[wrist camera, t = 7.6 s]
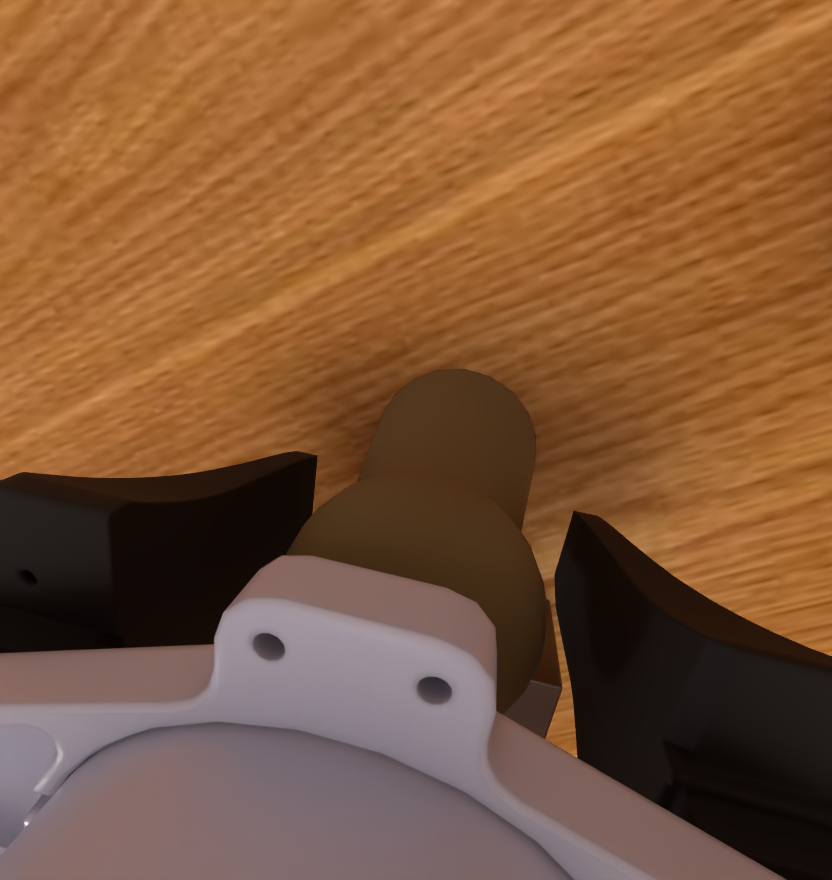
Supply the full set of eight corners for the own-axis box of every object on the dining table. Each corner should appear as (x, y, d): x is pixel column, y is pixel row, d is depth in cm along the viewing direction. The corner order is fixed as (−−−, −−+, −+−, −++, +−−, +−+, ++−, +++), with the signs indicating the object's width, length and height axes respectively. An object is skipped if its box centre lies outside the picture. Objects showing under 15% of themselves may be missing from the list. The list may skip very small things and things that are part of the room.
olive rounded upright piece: (523, 354, 17) (556, 476, 6) (546, 510, 18) (604, 808, 8) (360, 385, 18) (168, 526, 8) (396, 528, 20) (279, 801, 9)
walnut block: (522, 691, 21) (526, 794, 17) (307, 636, 22) (262, 719, 18) (550, 599, 19) (563, 688, 15) (316, 544, 21) (268, 612, 16)
